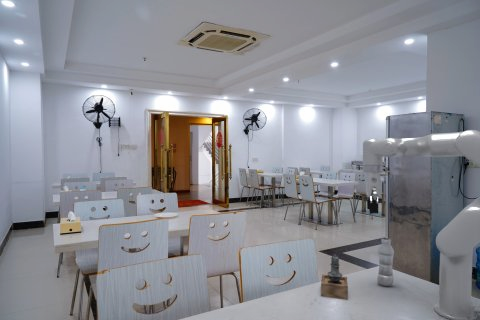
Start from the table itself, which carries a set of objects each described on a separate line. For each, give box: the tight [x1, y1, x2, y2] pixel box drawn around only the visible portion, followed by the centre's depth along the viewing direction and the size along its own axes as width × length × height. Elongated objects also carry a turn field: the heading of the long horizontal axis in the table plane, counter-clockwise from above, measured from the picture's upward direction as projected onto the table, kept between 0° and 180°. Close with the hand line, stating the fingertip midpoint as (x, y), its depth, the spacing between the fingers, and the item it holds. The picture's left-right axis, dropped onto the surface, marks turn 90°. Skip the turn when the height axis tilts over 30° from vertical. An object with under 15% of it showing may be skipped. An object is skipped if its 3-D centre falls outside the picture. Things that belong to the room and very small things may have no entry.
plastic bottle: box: [377, 237, 395, 287], centre depth 140 cm, size 6×7×20 cm
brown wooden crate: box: [320, 273, 349, 301], centre depth 132 cm, size 10×10×5 cm
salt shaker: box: [326, 253, 343, 284], centre depth 132 cm, size 6×6×12 cm
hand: (372, 211), depth 134 cm, fingers open, 9 cm apart
